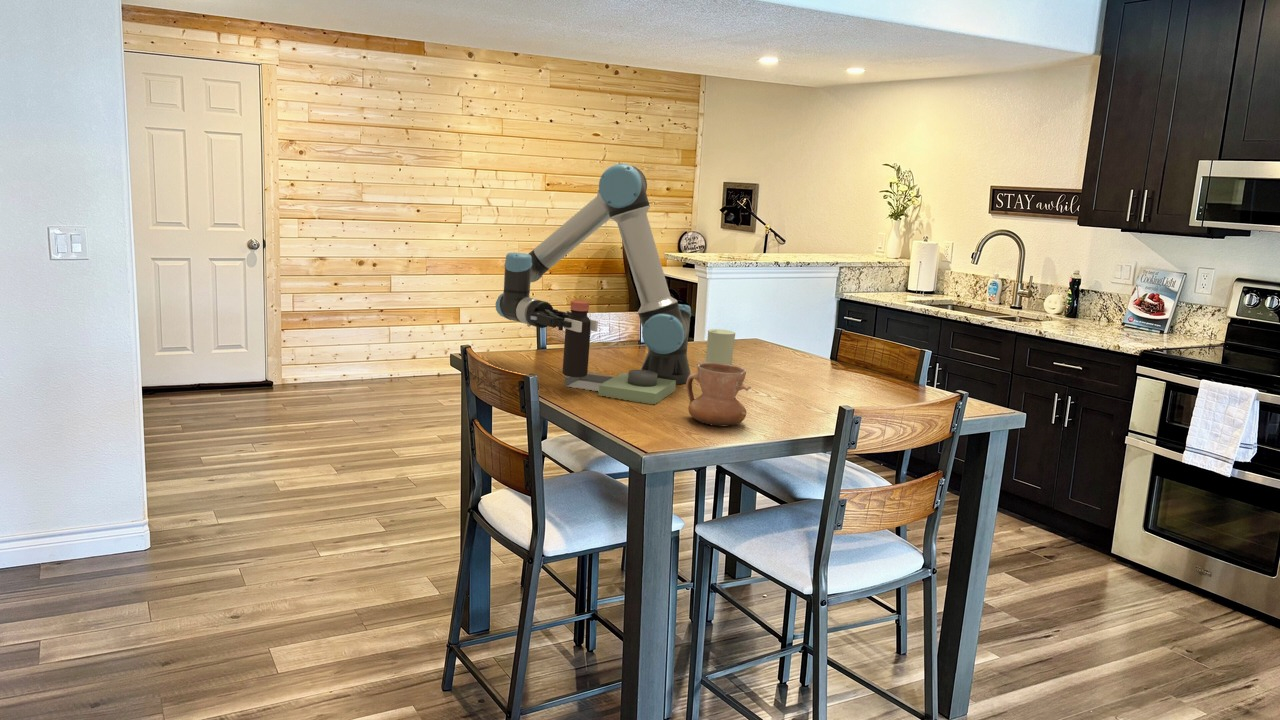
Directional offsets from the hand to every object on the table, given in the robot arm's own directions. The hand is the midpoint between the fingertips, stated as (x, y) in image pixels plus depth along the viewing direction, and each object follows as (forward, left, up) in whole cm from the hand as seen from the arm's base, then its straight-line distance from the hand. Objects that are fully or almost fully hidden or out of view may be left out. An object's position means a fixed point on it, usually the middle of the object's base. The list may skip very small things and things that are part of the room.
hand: (588, 326), depth 244 cm
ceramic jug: (-37, +5, -19) cm, 42 cm away
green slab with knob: (-5, -13, -19) cm, 23 cm away
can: (-21, -70, -19) cm, 76 cm away
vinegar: (+4, -3, -14) cm, 15 cm away
